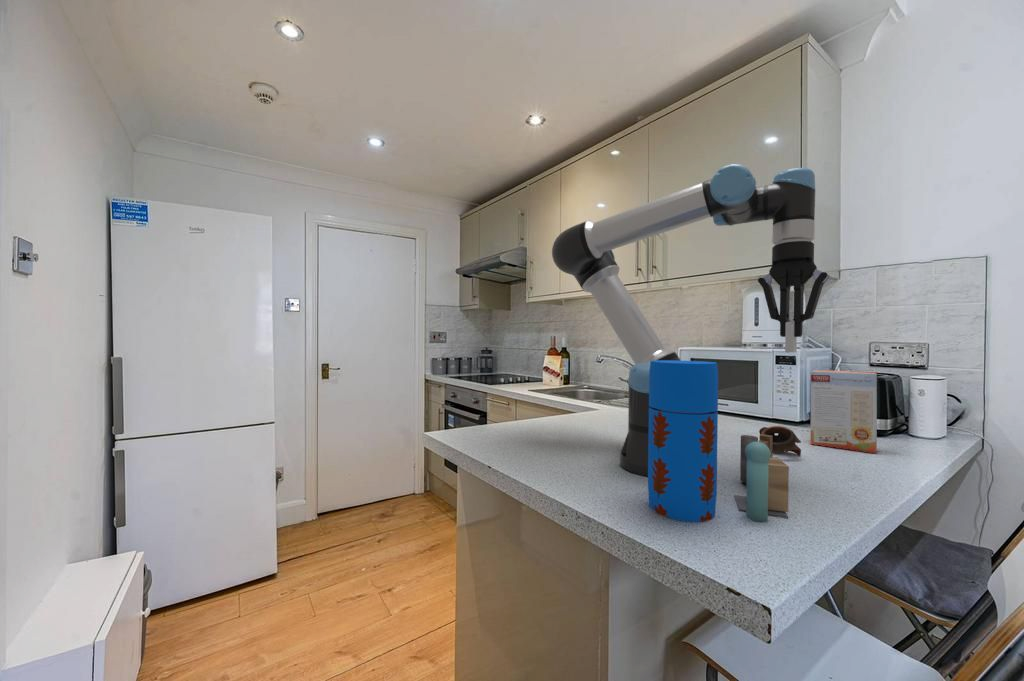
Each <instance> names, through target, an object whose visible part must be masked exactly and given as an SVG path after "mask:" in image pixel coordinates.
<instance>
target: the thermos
mask: <svg viewBox="0 0 1024 681" xmlns="http://www.w3.org/2000/svg"><path fill="white" fill-rule="evenodd" d="M718 370H719V369H718V363H717V362H714V361H713V362H712V361H701V360H699V361H698V360H697V361H696V360H681V361H677V360H656V361H651V363H650V370H649V436H648V476H647V491H648V494H647V495H648V507H649V508H650V509H651V510H652V511H653V512H655V513H657V514H658V515H660V516H663V517H665V516H666V517H665V518H668V519H672V520H675V521H676V520H677V521H680V520H681V521H680V522H691V523H696V522H697V523H698V522H699V523H700V522H701V523H702V522H706V521H710V520H713V518H714V517H715V516H716V509H717V508H716V507H717V506H716V504H717V489H718V486H717V485H718V428H719V426H718V424H719V422H718V421H719V420H718V418H719V415H718V413H719V412H718V410H719V371H718Z"/></svg>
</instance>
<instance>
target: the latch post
mask: <svg viewBox="0 0 1024 681" xmlns="http://www.w3.org/2000/svg"><path fill="white" fill-rule="evenodd" d="M745 455H746V457H747V484H746V496H747V498H746V512H745V514H746V515H745V516H746V518H748V519H749V518H750V520H752V521H756V522H760V521H761V522H762V523H763V521H765V522H767V521H768V520H769V519H768V518H769V517H768V516H769V515H768V464H769V459H770V457H771V452H770V449H769V448H768V447H767V446H766V445H765V444H764V443H761V442H751V443H749V444H748V445H747V446H746V449H745Z"/></svg>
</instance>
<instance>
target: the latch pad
mask: <svg viewBox="0 0 1024 681" xmlns="http://www.w3.org/2000/svg"><path fill="white" fill-rule="evenodd" d="M733 497H734V500H735V502H736V506H737V508H739V509H738V512H745V513H746V498H747V495H739V494H734V495H733ZM771 515H774V516H773V517H778V516H780V517H779V518H786V517H787V518H786V519H789V515H788V514H787V512H783V511H775V510H768V516H771Z"/></svg>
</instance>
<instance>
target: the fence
mask: <svg viewBox="0 0 1024 681" xmlns="http://www.w3.org/2000/svg"><path fill="white" fill-rule="evenodd" d="M758 442H761V443H764V444H765V445H766V446H767V447H768V448H769V449H770V452H771V457H770V458H773V453H772V444H773V436H772V435H765V434H761V435H760V434H759V440H758Z"/></svg>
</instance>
